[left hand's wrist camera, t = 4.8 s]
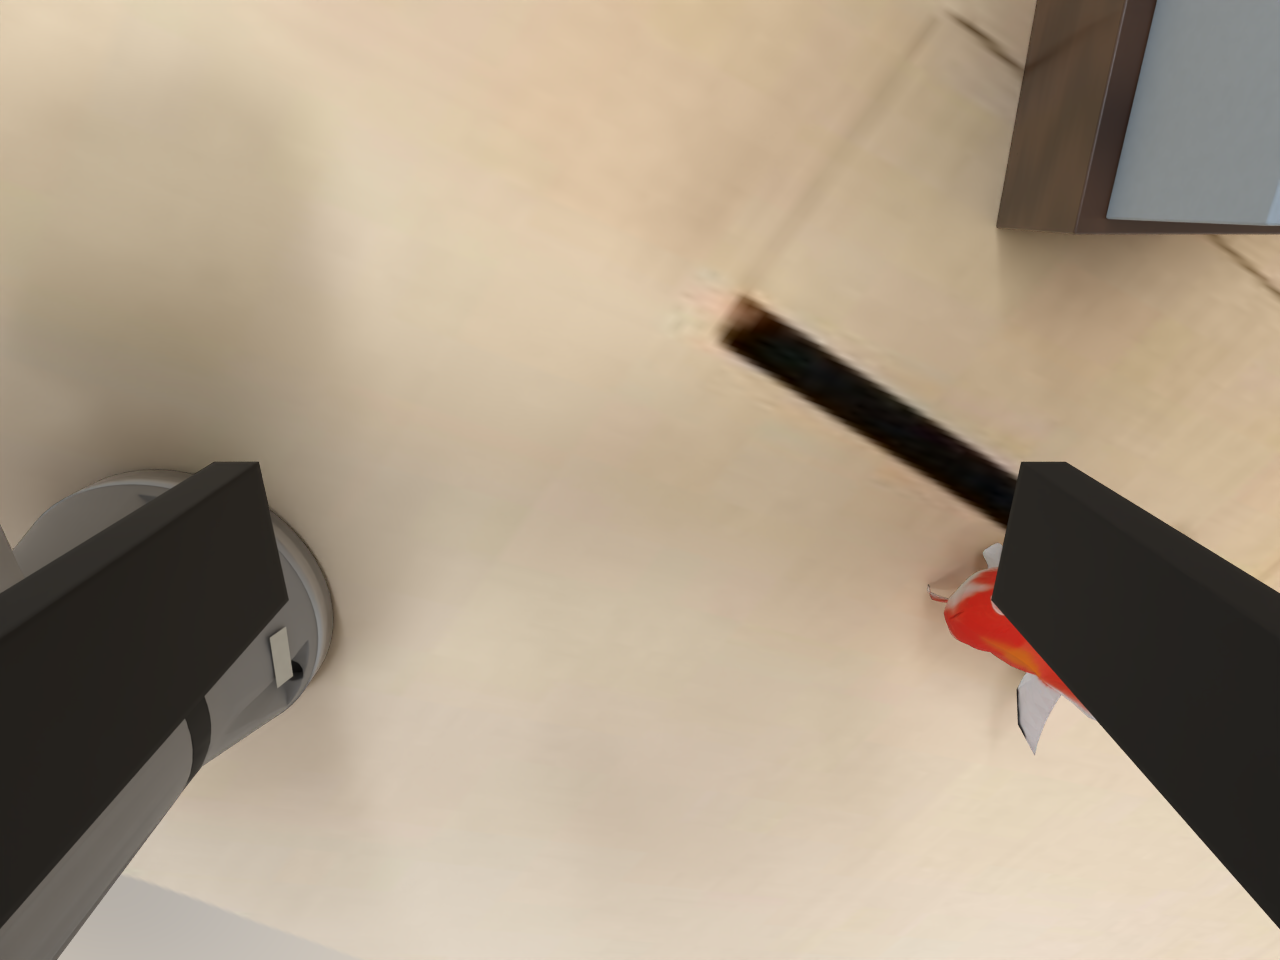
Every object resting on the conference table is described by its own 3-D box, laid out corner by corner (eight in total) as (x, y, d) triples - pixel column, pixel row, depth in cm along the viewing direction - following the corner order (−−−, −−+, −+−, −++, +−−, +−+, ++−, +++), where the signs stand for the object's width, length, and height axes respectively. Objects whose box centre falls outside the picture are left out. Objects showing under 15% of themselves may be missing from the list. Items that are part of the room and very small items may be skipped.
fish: (1091, 433, 29) (1238, 658, 23) (1186, 540, 39) (1308, 720, 33) (872, 546, 35) (945, 749, 29) (1000, 615, 44) (1076, 780, 39)
